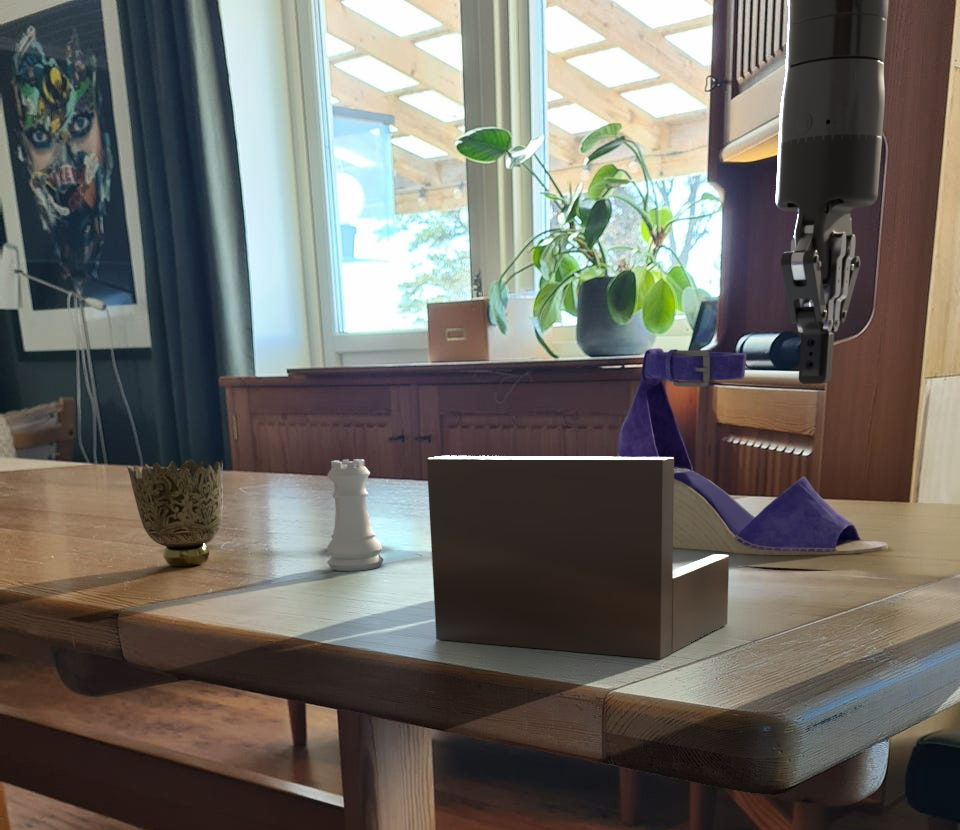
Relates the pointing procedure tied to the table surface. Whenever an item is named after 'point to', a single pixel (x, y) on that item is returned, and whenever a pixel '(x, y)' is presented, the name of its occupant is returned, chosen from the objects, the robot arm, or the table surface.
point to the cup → (180, 508)
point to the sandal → (703, 505)
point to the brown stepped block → (566, 556)
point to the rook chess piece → (352, 520)
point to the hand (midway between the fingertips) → (814, 383)
